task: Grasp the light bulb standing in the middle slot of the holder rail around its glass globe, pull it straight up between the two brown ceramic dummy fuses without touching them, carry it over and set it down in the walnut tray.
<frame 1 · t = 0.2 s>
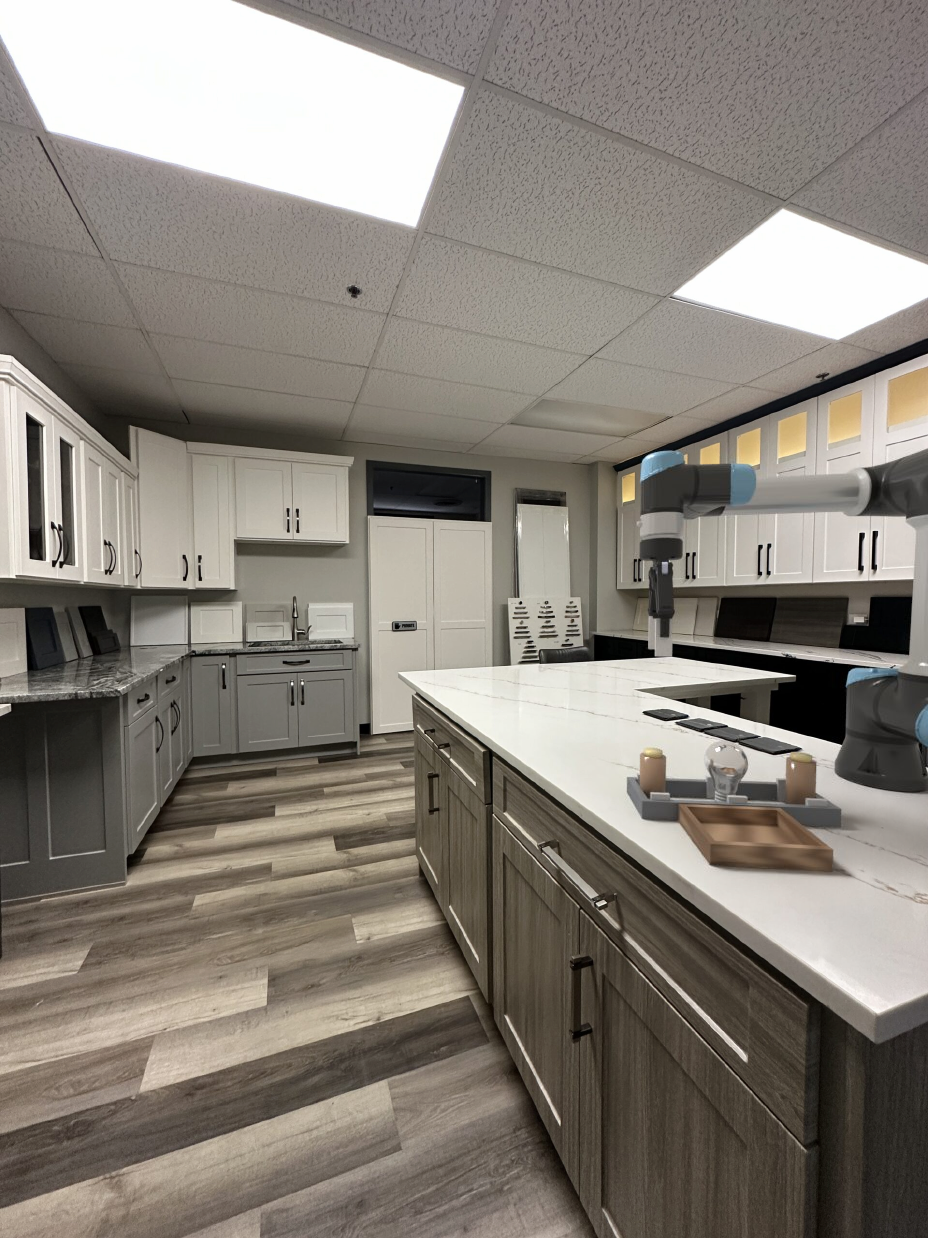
hand: (659, 652, 95), 27 cm above the countertop, fingers open, 13 cm apart
light bulb: (724, 809, 90), resting in holder
fuse 2: (799, 811, 89), resting in holder
fuse 1: (652, 805, 91), resting in holder
holder: (725, 808, 90), on the countertop
tray: (747, 844, 77), on the countertop
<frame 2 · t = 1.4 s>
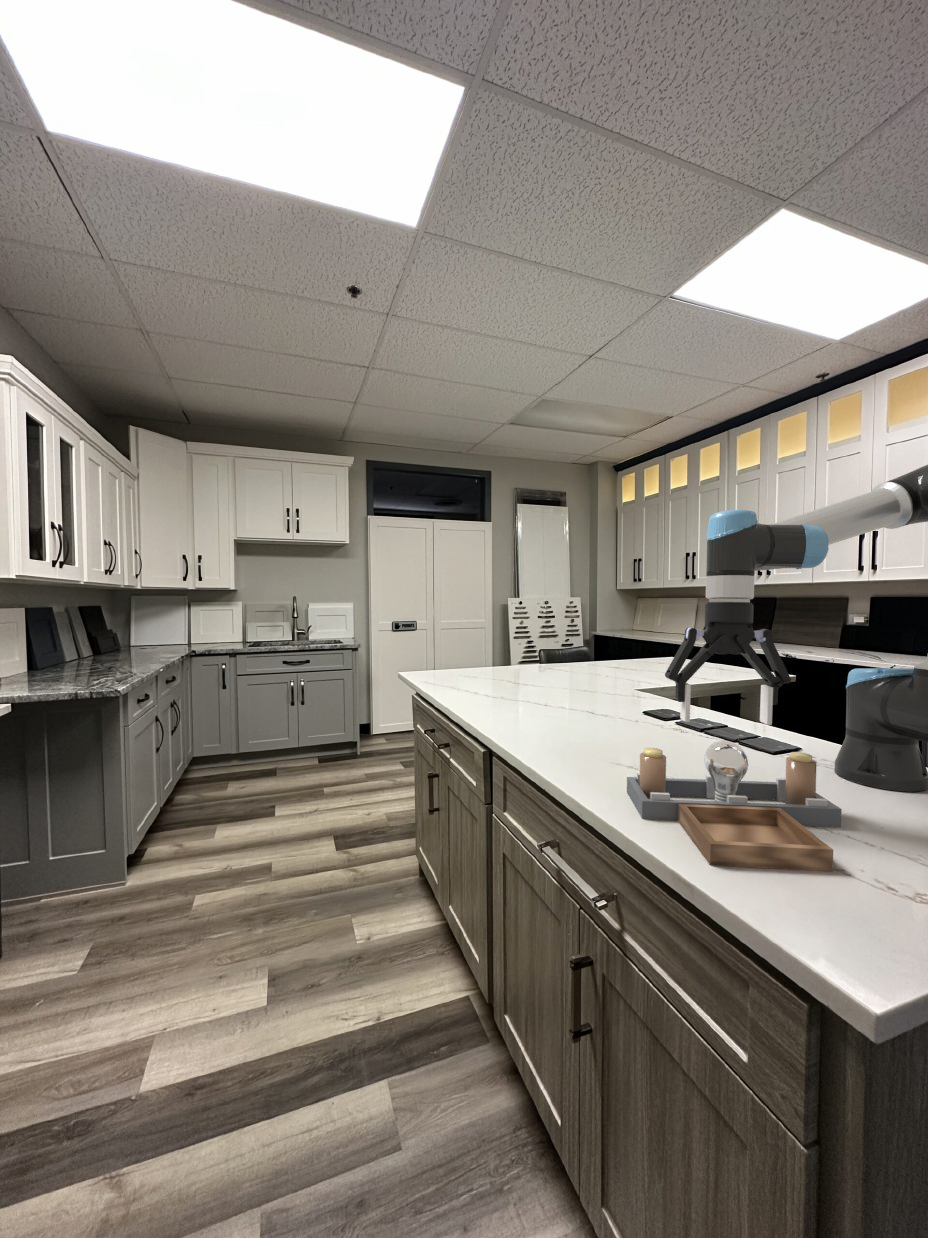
hand: (724, 721, 90), 15 cm above the countertop, fingers open, 13 cm apart
nothing on the countertop moved.
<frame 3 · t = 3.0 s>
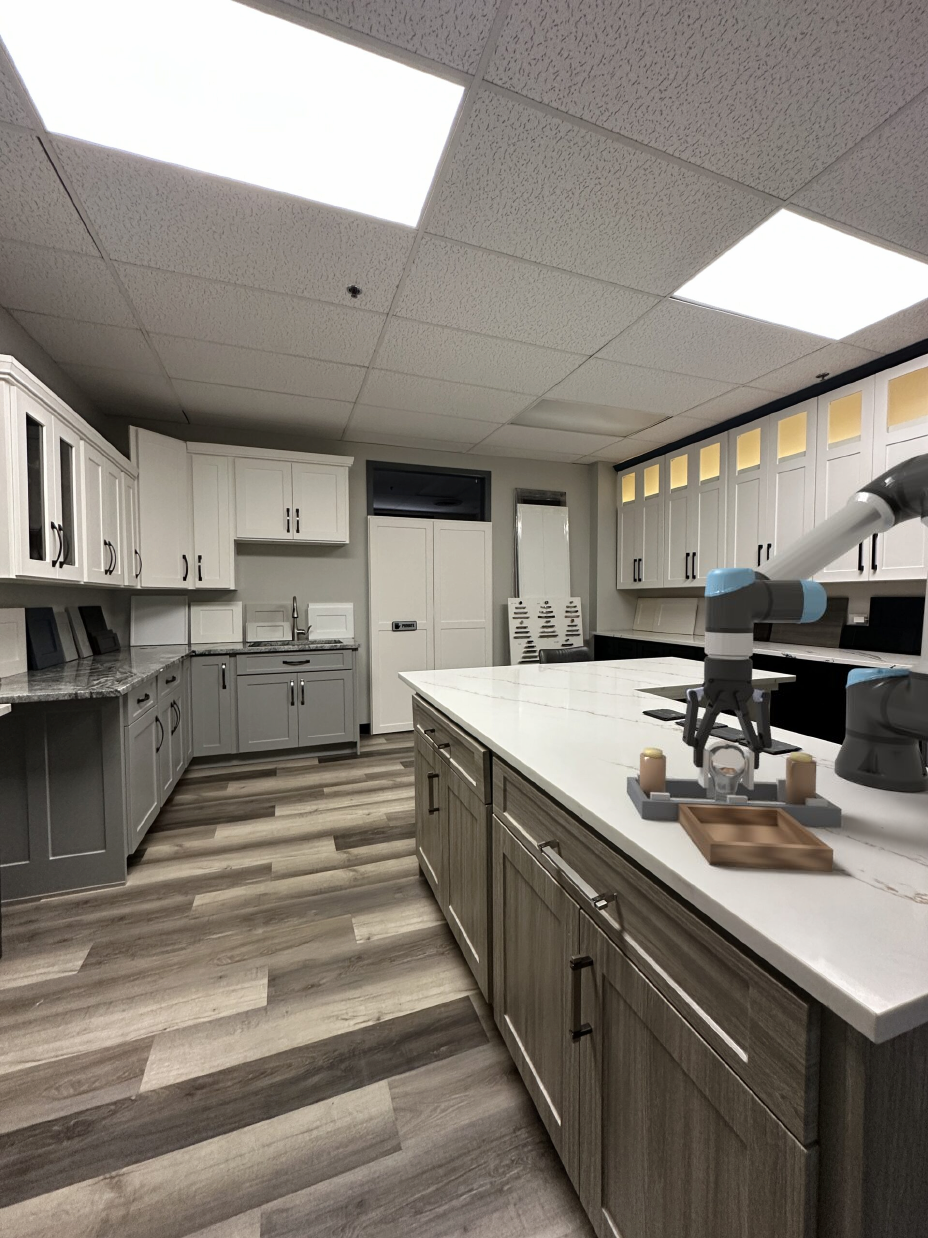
hand: (725, 785, 90), 4 cm above the countertop, fingers closed on light bulb, 7 cm apart
light bulb: (725, 809, 90), resting in holder, touching gripper
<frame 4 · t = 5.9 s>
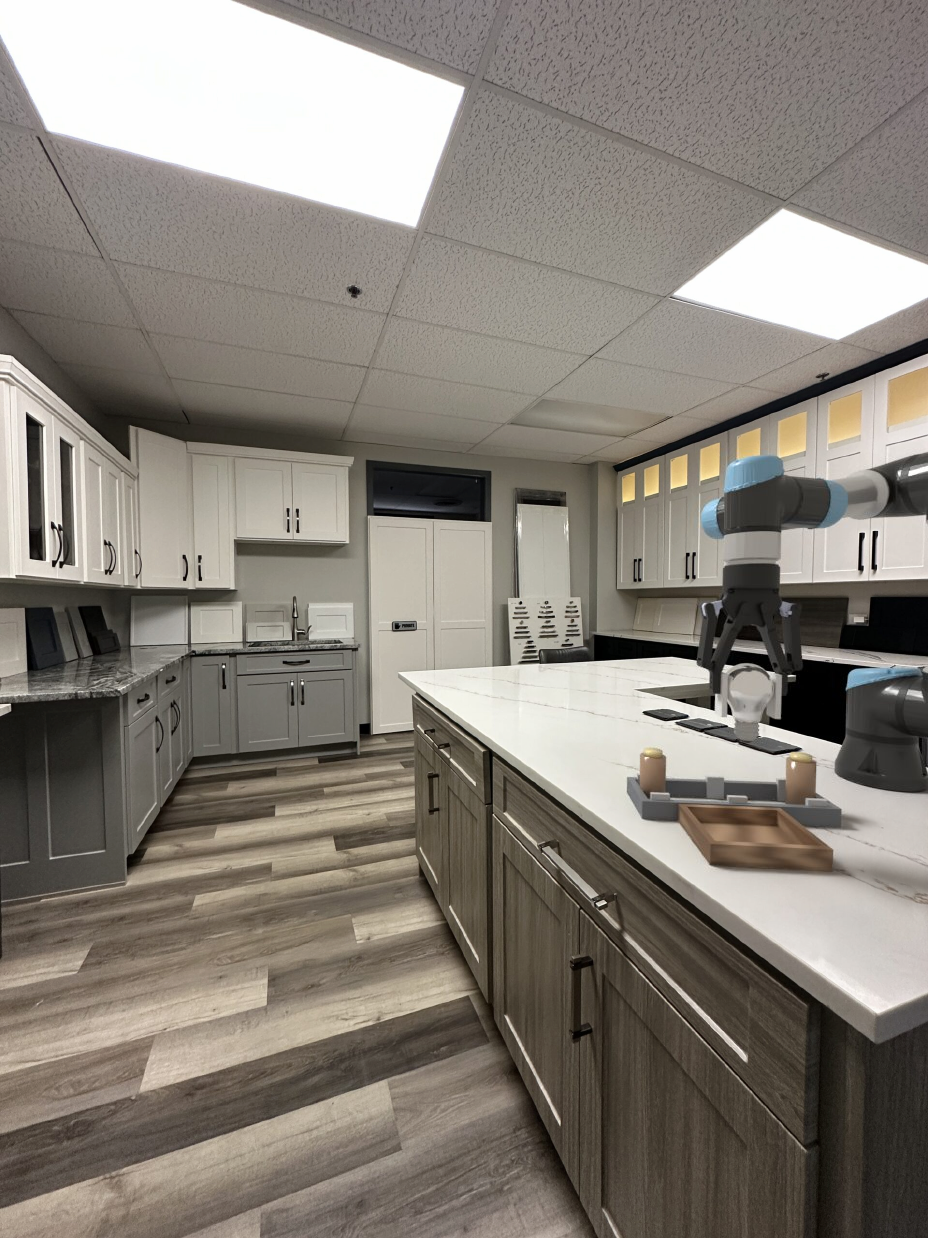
hand: (746, 715, 77), 19 cm above the countertop, fingers closed on light bulb, 7 cm apart
light bulb: (746, 743, 77), point 15 cm above the countertop, touching gripper
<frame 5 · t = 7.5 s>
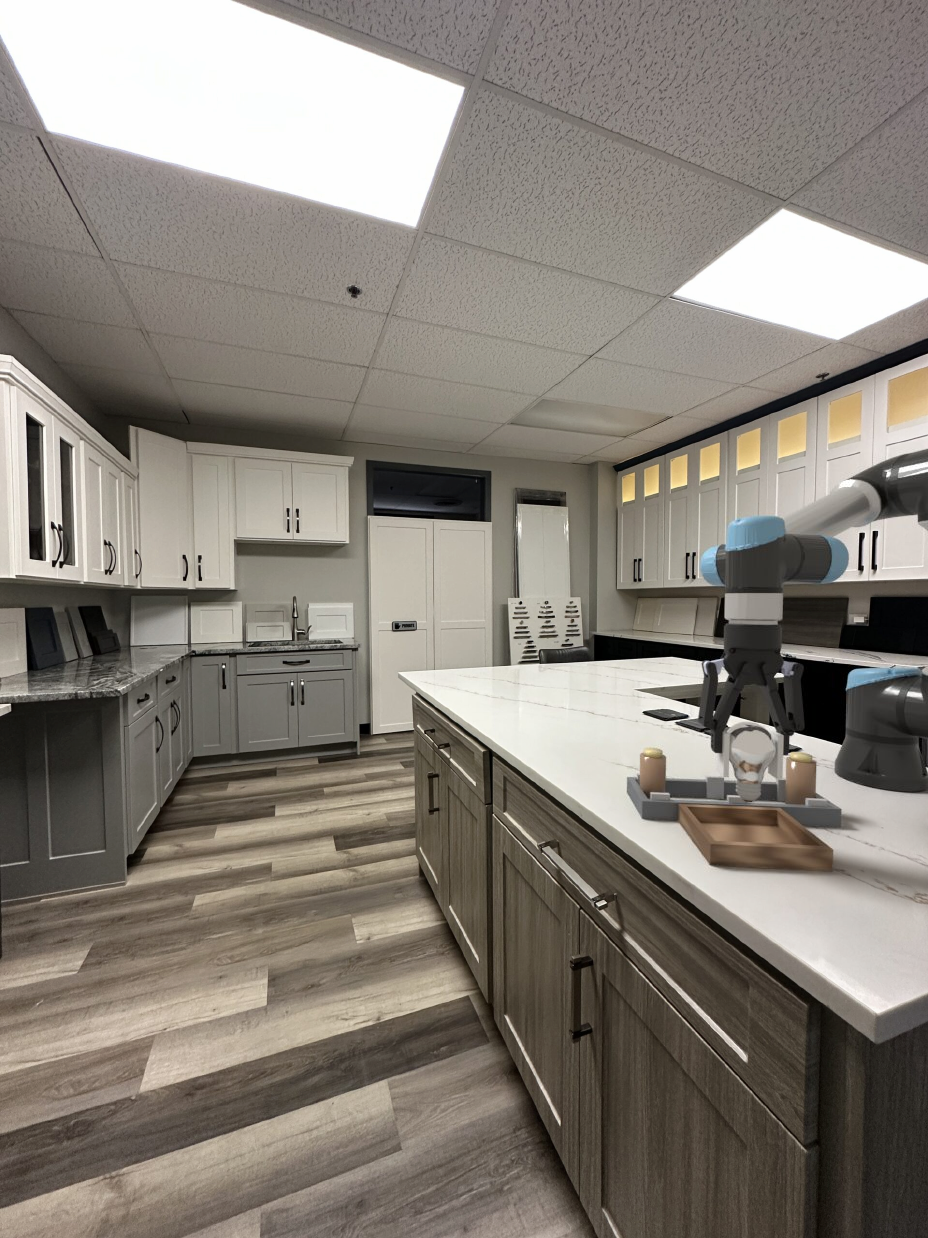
hand: (748, 774, 77), 11 cm above the countertop, fingers closed on light bulb, 7 cm apart
light bulb: (748, 802, 77), point 6 cm above the countertop, touching gripper
when the fingers open (6 cm above the countertop, at t = 8.8 s): light bulb drops 1 cm, resting on tray.
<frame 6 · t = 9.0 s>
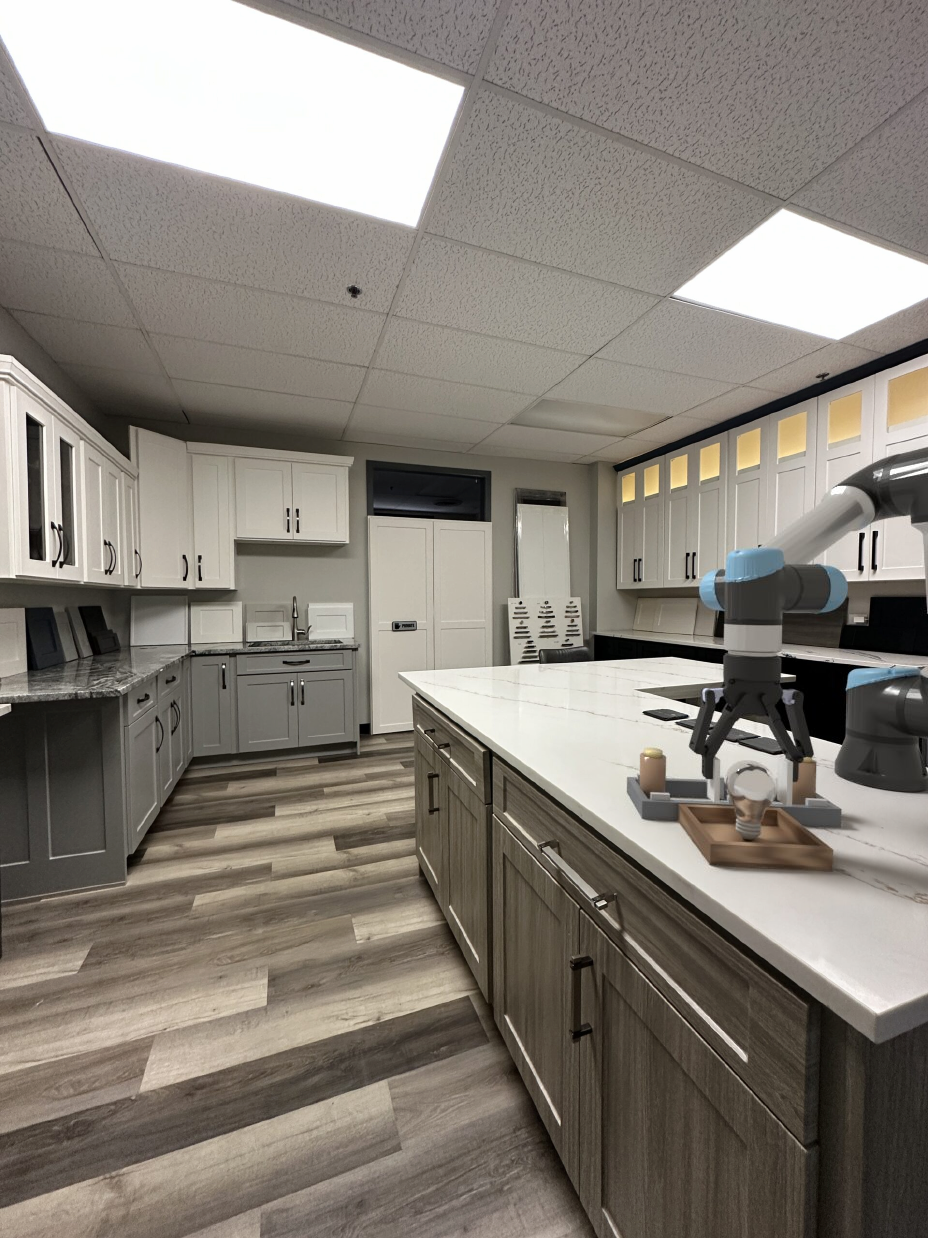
hand: (748, 801, 77), 7 cm above the countertop, fingers open, 9 cm apart
light bulb: (747, 841, 77), resting on tray
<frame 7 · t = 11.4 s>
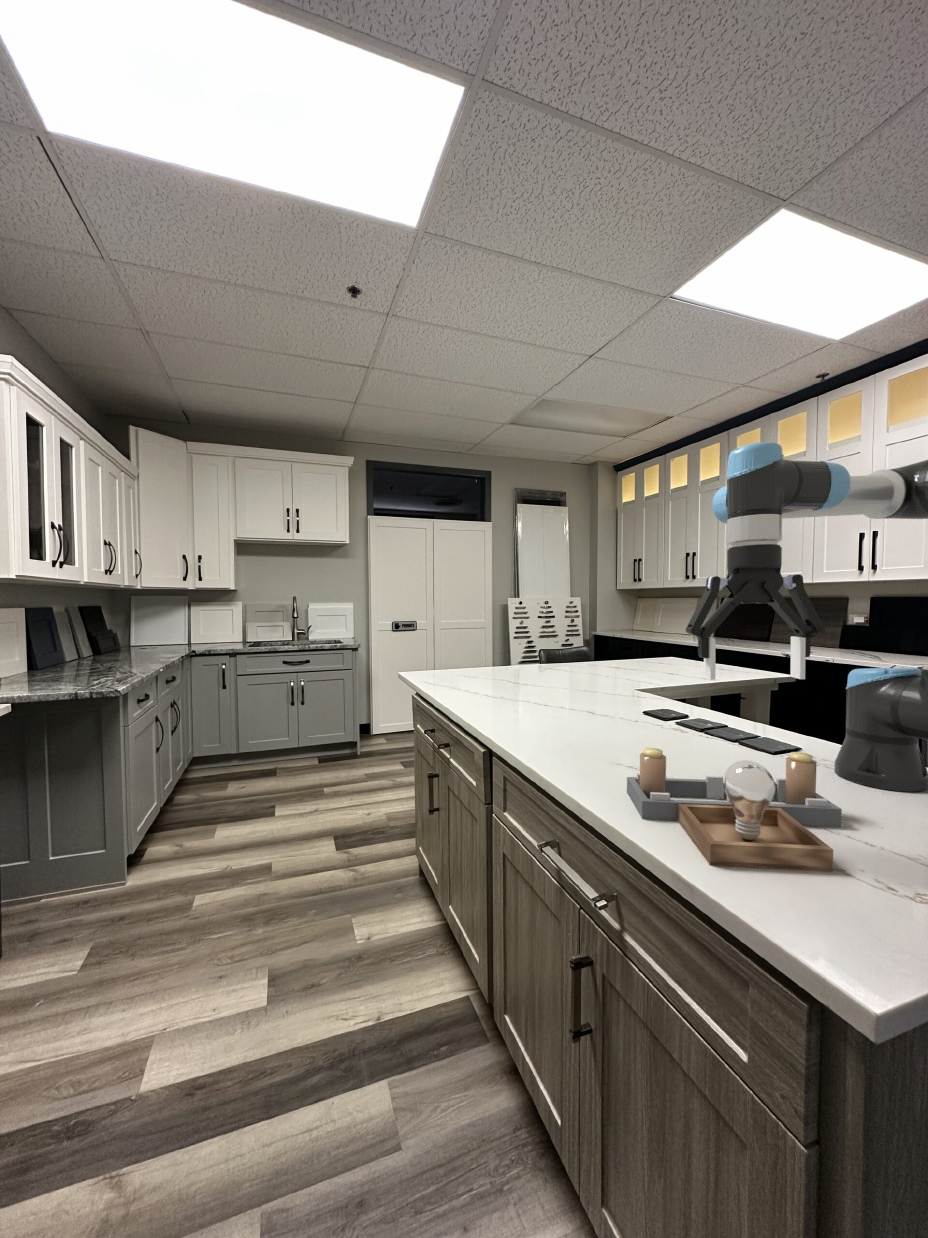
hand: (753, 678, 82), 24 cm above the countertop, fingers open, 13 cm apart
nothing on the countertop moved.
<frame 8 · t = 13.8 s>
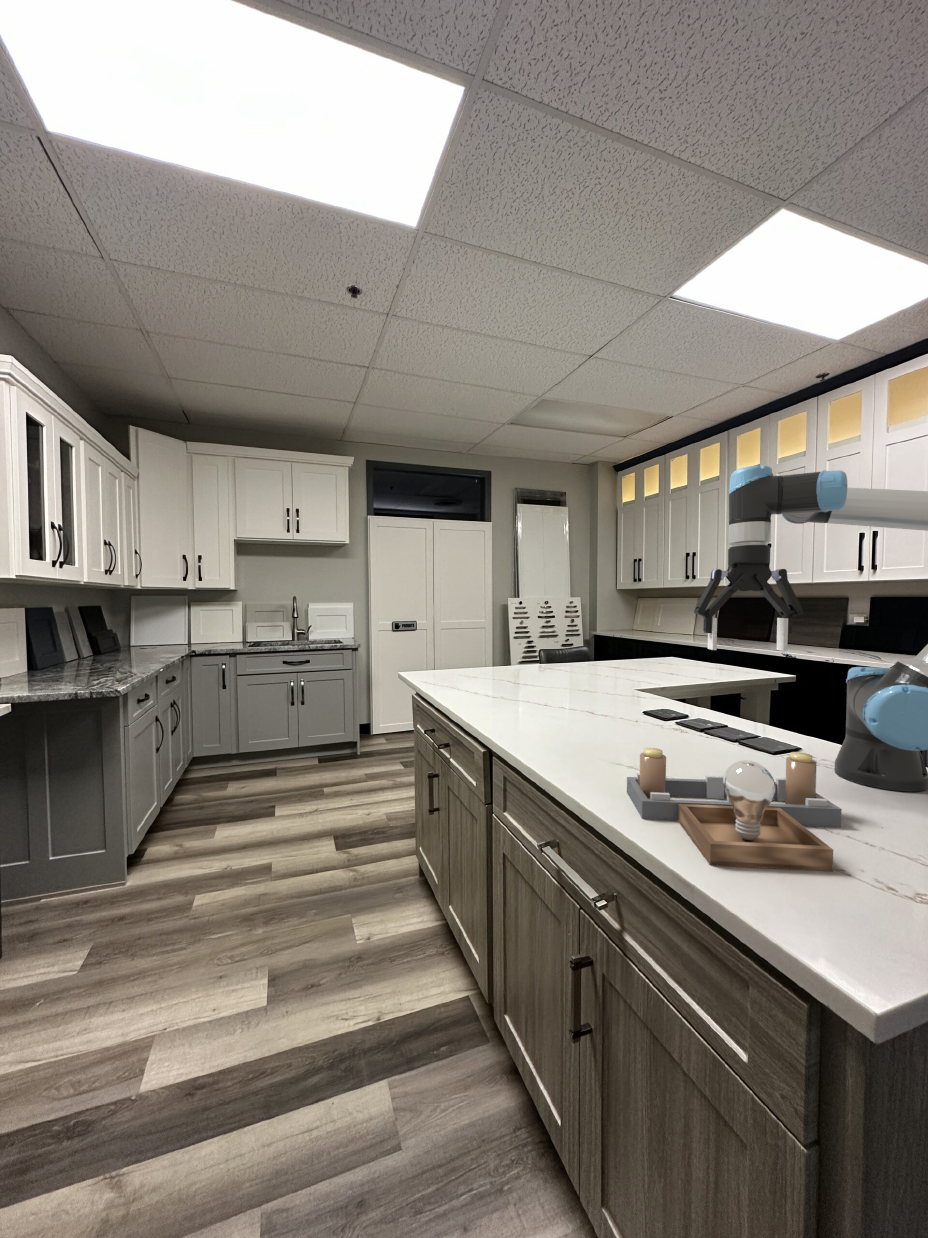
hand: (746, 650, 104), 27 cm above the countertop, fingers open, 13 cm apart
nothing on the countertop moved.
at the end: light bulb inside the target area on the tray (0.1 cm from its centre), point 0.4 cm above the tray's base; the gripper is holding nothing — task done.
